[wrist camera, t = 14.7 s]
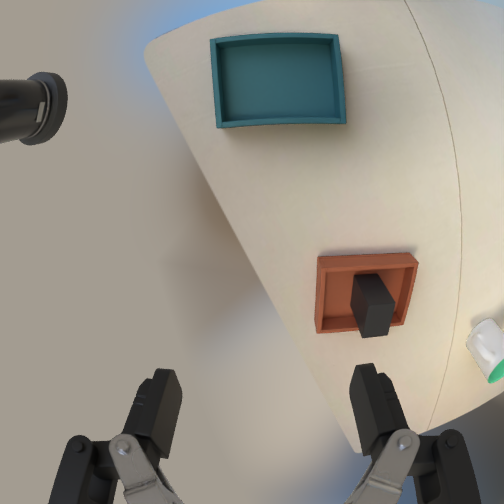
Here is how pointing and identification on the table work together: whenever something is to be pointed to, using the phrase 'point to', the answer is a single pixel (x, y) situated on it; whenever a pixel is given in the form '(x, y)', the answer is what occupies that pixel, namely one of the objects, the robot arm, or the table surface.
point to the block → (371, 305)
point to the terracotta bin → (341, 281)
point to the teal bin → (277, 79)
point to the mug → (488, 349)
